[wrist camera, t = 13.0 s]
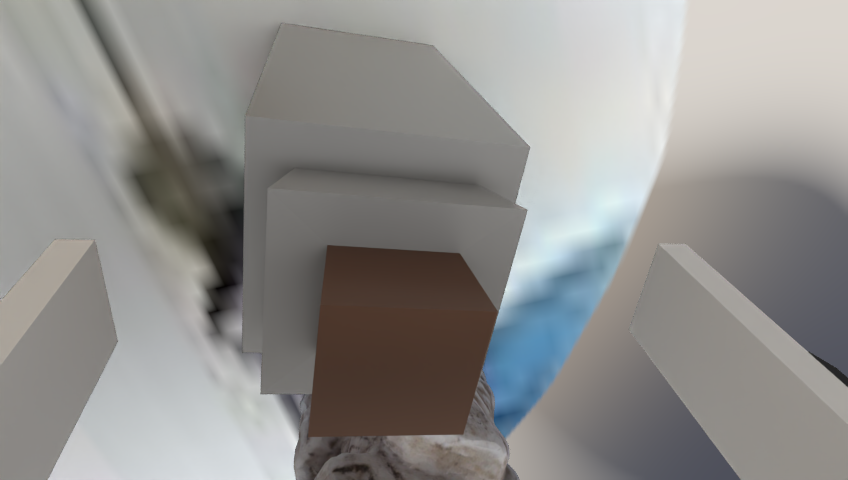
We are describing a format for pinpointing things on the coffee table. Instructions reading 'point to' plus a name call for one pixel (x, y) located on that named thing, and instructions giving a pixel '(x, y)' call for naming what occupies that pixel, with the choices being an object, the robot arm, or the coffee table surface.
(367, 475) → the figurine
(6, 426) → the robot arm
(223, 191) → the coffee table surface
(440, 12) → the coffee table surface
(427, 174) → the perfume bottle
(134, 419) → the coffee table surface
